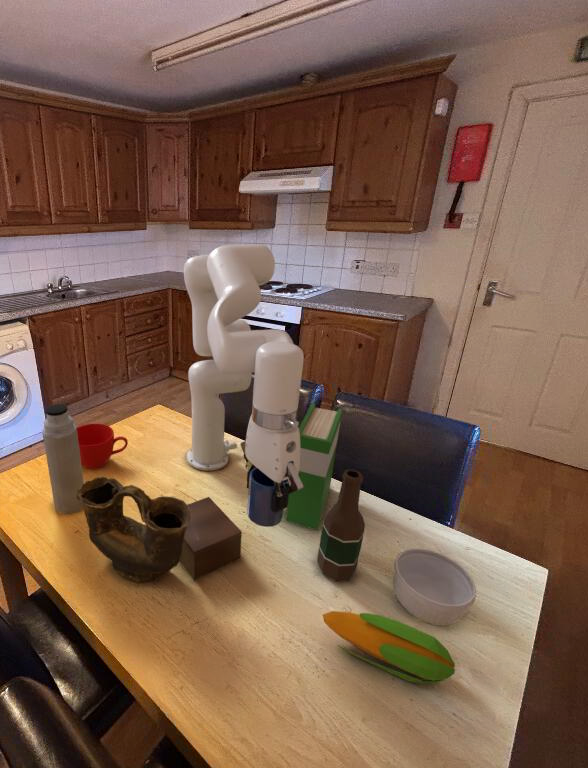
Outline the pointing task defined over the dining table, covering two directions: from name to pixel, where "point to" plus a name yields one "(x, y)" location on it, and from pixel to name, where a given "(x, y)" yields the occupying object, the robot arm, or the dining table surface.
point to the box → (211, 557)
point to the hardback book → (314, 466)
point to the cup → (262, 499)
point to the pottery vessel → (134, 528)
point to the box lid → (208, 526)
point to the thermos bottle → (63, 458)
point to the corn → (394, 645)
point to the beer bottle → (342, 531)
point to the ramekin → (432, 586)
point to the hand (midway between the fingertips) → (266, 497)
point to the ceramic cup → (97, 444)
